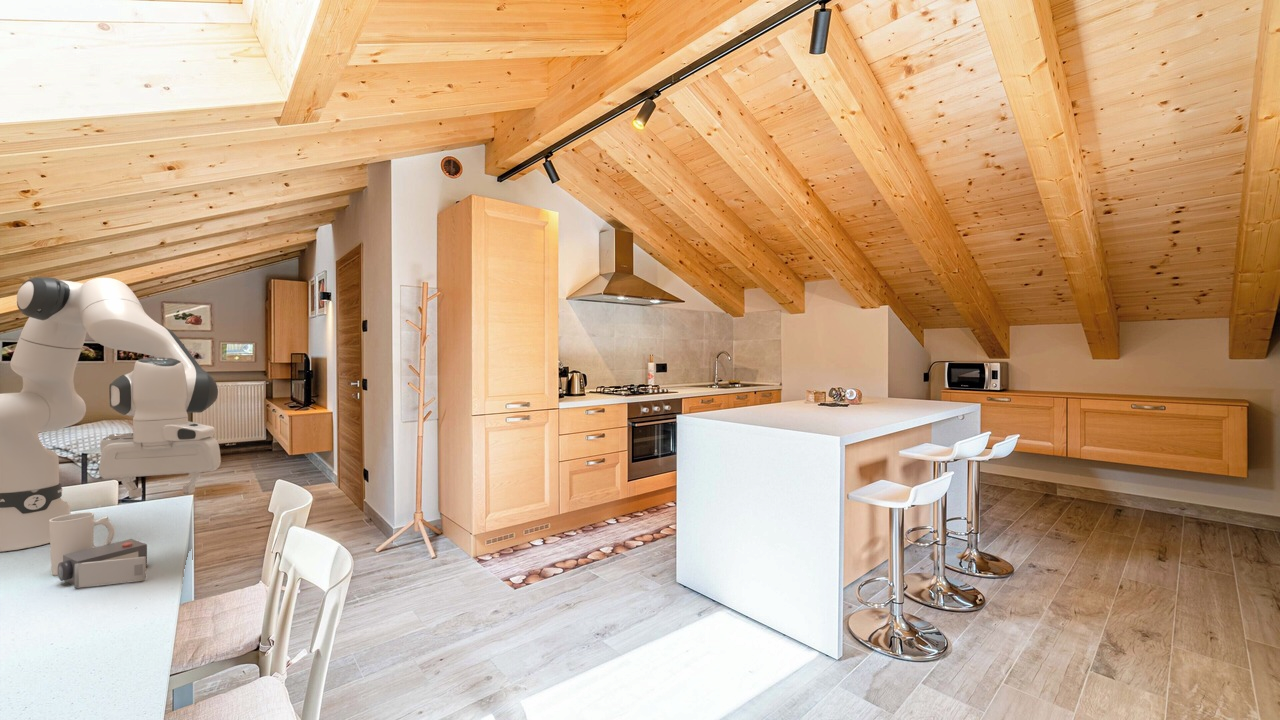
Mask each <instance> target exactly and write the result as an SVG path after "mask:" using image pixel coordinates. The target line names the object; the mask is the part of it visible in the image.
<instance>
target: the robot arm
mask: <svg viewBox="0 0 1280 720" xmlns="http://www.w3.org/2000/svg"><path fill="white" fill-rule="evenodd" d="M16 305H17V308H18V310H19V311H20V312H21V314H23V315H24V316H27V317H28V318H27V319H26V322H25V324H24V326H23V329H22V330H21V333H20V335H19V338H18V340H17V343H16V346H15V348H14V351H13V354H12V357H11V360H10V363H9V365H10V368H11V370H12V371H13V372H14V373H15V374H17V375H18V376H19V377H21V378H22V389H21V390H20V392H4V393H3V392H2V393H0V552H7V551H8V552H9V551H18V550H22V549H29V548H33V547H38V546H43V545H47V544H50V521H49V520H50V519H52V518H55V517H59V516H63V515H68V514H72V513H71V504H70V503H69V502H68V501H65V500H63V499H62V495H63V494H62V493H63V486H62V483H60V459H59V455H58V453H57V452H55V451H54V450H52V449H48V448H46V447H45V446H44V445H43V444H42V442H41V440H40V437H39V433H46V432H53V431H58V430H62V429H64V428H68V427H71V426H73V425H75V424H78V423H79V422H81V421H82V420H83V419H84V417H85V415H86V412H87V405H86V403H85V400H84V399H83V398H82V397H81V396H80V395H79V394H78V393H77V391H76V388H75V383H74V379H75V378H74V377H75V370H76V368H77V365H78V362H79V358H80V355H81V352H82V351H83V346H84V344H85V341H86V336H87V334H88V336H89V337H90V338H91V339H92V340H93V341H95V342H96V343H97V344H100V345H101V346H104V347H106V348H109V349H113V350H117V351H122V352H123V351H125V352H131V353H138V354H143V355H147V356H149V357H143V358H140V359H138V360H136V361H135V363H134V367H133V370H132V371H131V372H128V373H126V374H122V375H120V376H118V377H117V378H115V379H114V380H113V381H112V382H111V383H110V384H109V389H108V390H109V407H110V408H111V409H113V410H114V411H116V412H118V413H119V414H121V415H124V416H132V417H133V418H132V432H130V433H123V434H121V433H120V434H118V433H116V434H115V433H112V434H109V435H108V436H106V437H104V438H102V440H101V441H100V452H101V455H100V459H99V466H98V474H99V476H100V477H101V478H102V479H104V480H107V479H108V480H109V479H111V480H112V479H121V484H122V485H123V486H124V488H125V489H126V490H127V491H128V498H129V499H134V498H135V499H136V498H140V497H142V496H143V492H142V491H143V487H137V485H136V483H135V482H134V481H136V480H137V479H136V477H139V478H140V477H149V476H150V477H151V476H152V477H153V476H165V475H182V474H188V478H189V479H190V480H189V483H188V484H187V483H186V484H185V485H183V486H182V493H183V494H184V495H186V494H193V493H195V492H196V484H197V482H198V481H199V479H200V478H201V476H202V473H210V472H213V471H215V470H217V469H218V468H219V467H220V466H221V462H222V460H221V450H220V449H221V448H220V445H219V442H218V440H217V439H216V438H215V437H213V436H214V435H215V432H216V428H215V427H214V426H212V425H208V424H202V423H198V422H194V421H190V420H189V415H188V413H189V414H191V413H192V414H195V413H198V414H200V413H203V412H205V411H206V410H207V409H209V408H210V407H211V406H212V405H214V403H215V402H216V401H217V399H218V395H219V389H218V385H217V383H216V380H215V378H214V377H213V376H211V375H210V374H209V373H208V372H207V371H206V370H204V369H203V368H202V366H201V365H200V364H199V362H198V361H197V360H196V359H195V358H194V356H193V355H192V353H191V352H190V351H189V350H188V348H187V347H186V346H185V345H184V343H183V342H182V341H181V339H180V338H179V337H178V336H177V335H176V334H175V332H173V330H172V329H170V328H168V327H166V326H163V325H162V324H160V323H158V322H156V321H155V320H154V319H153V318H151V317H150V316H149V315H148V314H147V313H146V311H145V310H144V307H143V305H142V302H141V300H140V299H139V298H138V297H137V296H136V294H135V293H134V291H133V290H132V289H131V288H130V287H129V286H128V285H127V284H126V283H125V282H123V281H121V280H119V279H116V278H111V277H97V278H93V279H89V280H87V281H86V282H78V281H71V280H63V279H58V278H55V277H50V276H49V277H47V276H38V277H37V276H35V277H32V278H30V279H28V280H25V281H24V282H23V283H22V284H21V286H20V288H19V289H18V291H17V293H16ZM150 356H151V357H150Z"/></svg>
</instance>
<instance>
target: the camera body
mask: <svg viewBox="0 0 1280 720" xmlns="http://www.w3.org/2000/svg"><path fill="white" fill-rule="evenodd" d="M102 545H103V544H102ZM102 545H99V546H94V548H90V549H86V550H82V551H78V552H73V553H69V554H65V555H63V562H60V563H59V564H58V580H60V581H62V582H63V581H64V582H66V583H68V584H70V585H72V586H74V587H75V564H77V563H85V562H95V561H105V560H115V559H125V558H135V557H145V556H146V569H147V568H148V544H147V543H144V542H142V541H139V540H136V539H133V538H129V539H125V540H120V541H116V542H111V544H107V545H103V546H102Z"/></svg>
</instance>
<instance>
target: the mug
mask: <svg viewBox="0 0 1280 720" xmlns="http://www.w3.org/2000/svg"><path fill="white" fill-rule="evenodd" d="M49 521H50V543H49V544H50V545H49V546H50V567H51V575H52V576H58V564H59V563H60V562H63V555H65V554H69V553H73V552H78V551H82V550H86V549H90V548H94V547H95V546H94V531H95V530H94V529H95V527H96V526H101V525H102V526H104V527H105V528H106V530H107V532H108V533H107V538H106V540H105V542H104V543H103V544H102V545H101V546H103V545H107V544H111V543H113V540H114V539H115V538H114V537H115V532H116V531H115V530H116V529H115V526H114V525H113V524H112V521H111V520H110V519H109V517H108V516H104V517H100V518H99V519H95V512H89V511H88V512H75V513H71V514H68V515H63V516H59V517H55V518H52V519H50V520H49ZM58 577H59V576H58Z"/></svg>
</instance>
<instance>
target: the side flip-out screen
mask: <svg viewBox="0 0 1280 720" xmlns="http://www.w3.org/2000/svg"><path fill="white" fill-rule="evenodd" d="M146 579H147V568H146V556H145V557H135V558H125V559H115V560H105V561H95V562H85V563H77V564H75V586H74V589H79V588H85V587H95V586H104V585H105V586H106V585H114V584H123V583H130V582H131V583H132V582H140V581H141V582H142V581H145V580H146Z"/></svg>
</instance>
